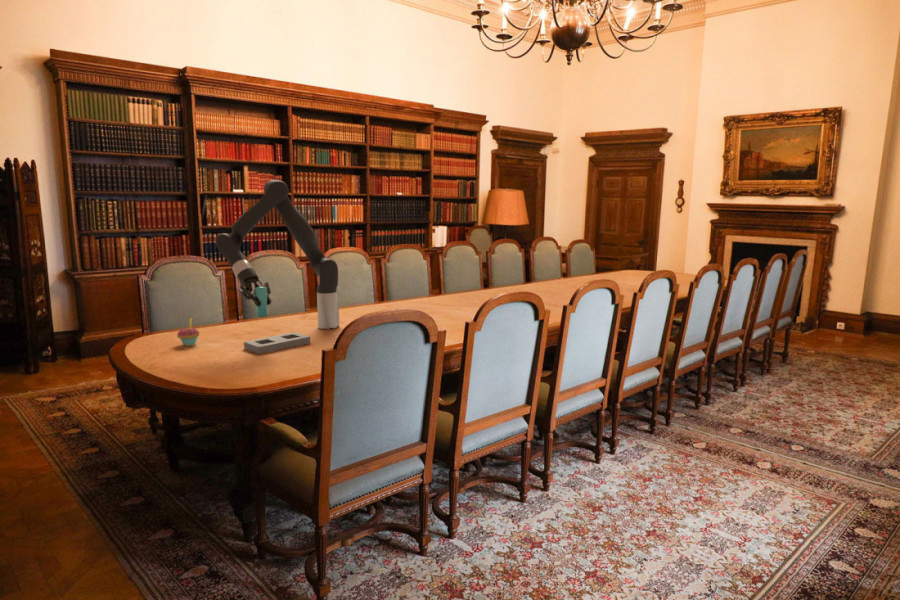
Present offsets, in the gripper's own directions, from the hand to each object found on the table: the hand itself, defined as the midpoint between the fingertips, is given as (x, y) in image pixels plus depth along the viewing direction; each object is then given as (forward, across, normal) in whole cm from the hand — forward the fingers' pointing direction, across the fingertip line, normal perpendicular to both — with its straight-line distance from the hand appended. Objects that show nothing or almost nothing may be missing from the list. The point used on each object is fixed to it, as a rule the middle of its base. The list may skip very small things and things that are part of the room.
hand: (264, 304), depth 237 cm
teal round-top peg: (+2, 0, +5) cm, 5 cm away
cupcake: (-8, -16, +34) cm, 39 cm away
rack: (+15, +4, +11) cm, 19 cm away
